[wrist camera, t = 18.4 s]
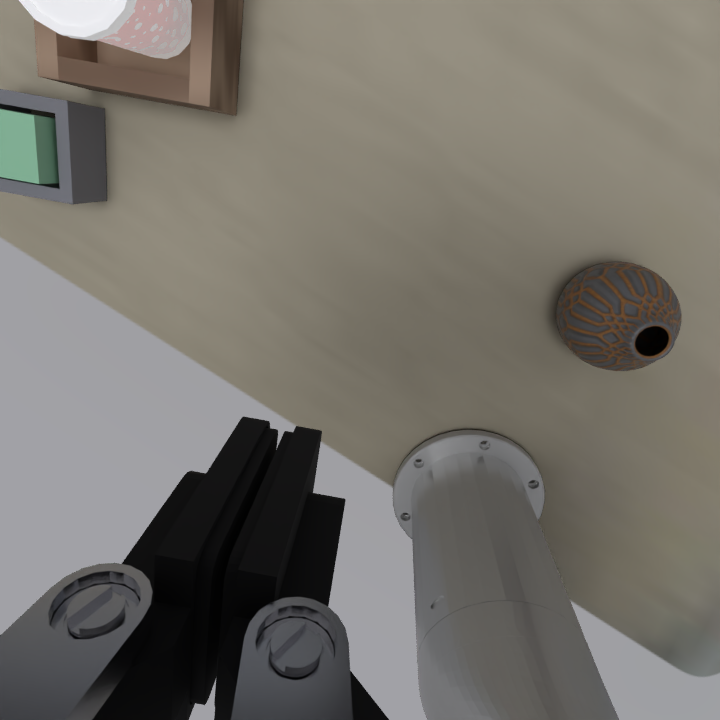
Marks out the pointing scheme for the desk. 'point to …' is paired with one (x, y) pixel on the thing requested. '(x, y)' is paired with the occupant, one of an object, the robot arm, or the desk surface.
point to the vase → (618, 316)
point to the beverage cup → (120, 22)
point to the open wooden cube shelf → (156, 62)
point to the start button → (28, 147)
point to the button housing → (66, 150)
